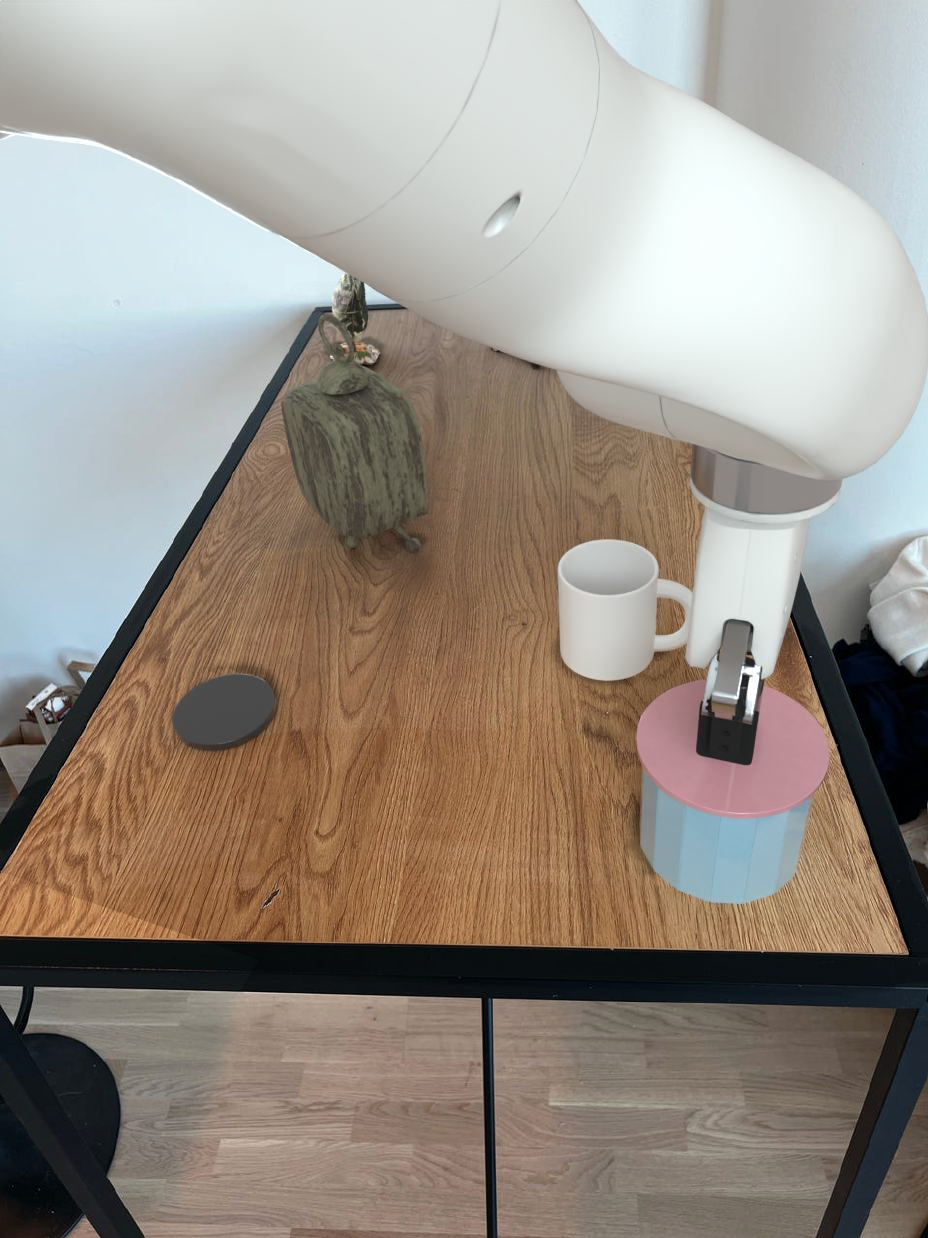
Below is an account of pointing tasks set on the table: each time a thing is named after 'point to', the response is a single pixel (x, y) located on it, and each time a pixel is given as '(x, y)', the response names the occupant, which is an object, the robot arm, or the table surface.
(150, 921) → the table surface
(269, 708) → the coaster
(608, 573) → the mug
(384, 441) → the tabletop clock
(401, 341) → the table surface
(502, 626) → the table surface
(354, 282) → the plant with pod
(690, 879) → the hollow cylinder
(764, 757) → the lid
